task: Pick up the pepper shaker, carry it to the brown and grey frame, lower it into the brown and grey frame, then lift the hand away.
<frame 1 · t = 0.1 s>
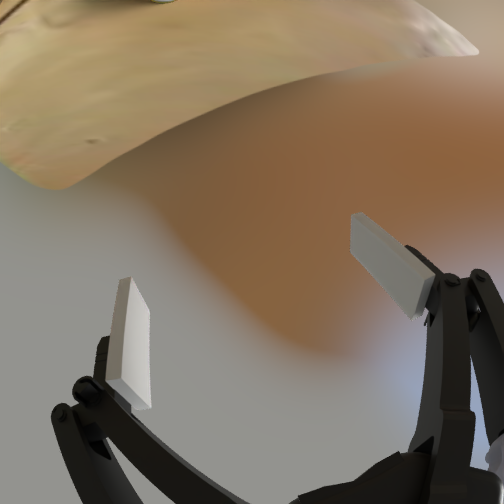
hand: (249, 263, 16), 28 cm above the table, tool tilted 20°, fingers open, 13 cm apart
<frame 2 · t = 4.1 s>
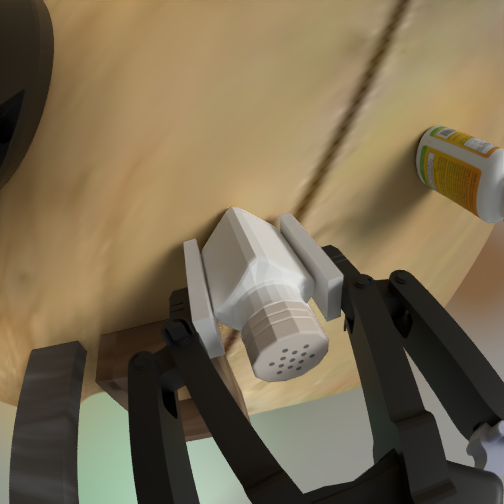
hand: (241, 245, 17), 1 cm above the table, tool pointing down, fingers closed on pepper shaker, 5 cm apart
pepper shaker: (238, 237, 18), on the table, touching gripper
supplement bottle: (433, 154, 18), on the table
brown and grey frame: (181, 371, 24), on the table
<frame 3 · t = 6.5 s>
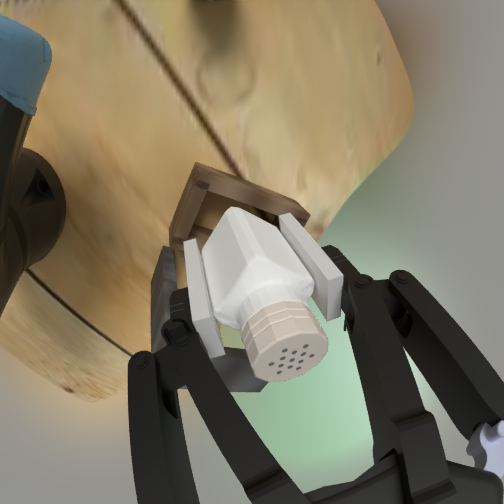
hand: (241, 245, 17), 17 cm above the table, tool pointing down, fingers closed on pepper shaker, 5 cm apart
pepper shaker: (238, 237, 18), point 16 cm above the table, touching gripper
brown and grey frame: (234, 213, 35), on the table
when the fingers open (4 cm above the table, at t = 9.1 s): pepper shaker drops 3 cm, resting in brown and grey frame.
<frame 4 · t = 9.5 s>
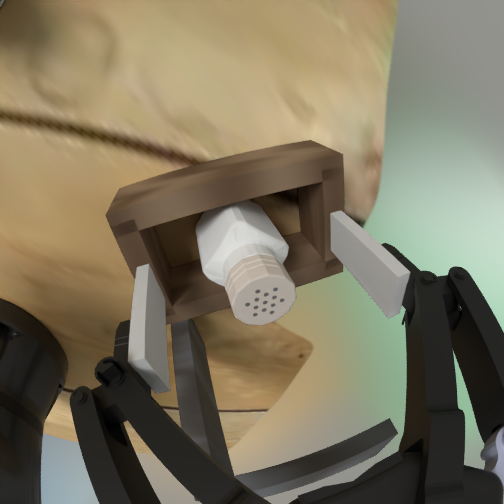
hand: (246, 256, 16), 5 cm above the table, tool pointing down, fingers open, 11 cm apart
pepper shaker: (227, 215, 21), resting in brown and grey frame
brown and grey frame: (229, 216, 21), on the table
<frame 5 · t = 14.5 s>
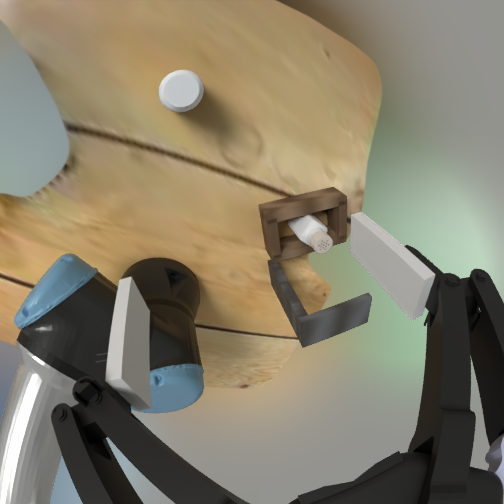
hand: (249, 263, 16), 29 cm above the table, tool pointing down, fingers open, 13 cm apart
pepper shaker: (299, 217, 49), resting in brown and grey frame
supplement bottle: (180, 92, 34), on the table
brown and grey frame: (299, 218, 49), on the table
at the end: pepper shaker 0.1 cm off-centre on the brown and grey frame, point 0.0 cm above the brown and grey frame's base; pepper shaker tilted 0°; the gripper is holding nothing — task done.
